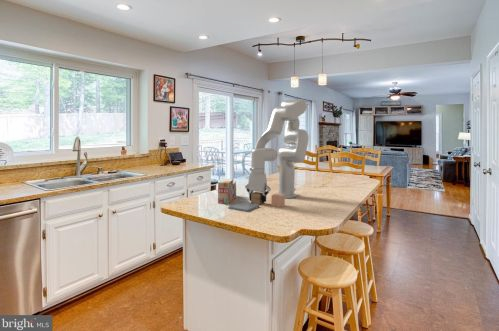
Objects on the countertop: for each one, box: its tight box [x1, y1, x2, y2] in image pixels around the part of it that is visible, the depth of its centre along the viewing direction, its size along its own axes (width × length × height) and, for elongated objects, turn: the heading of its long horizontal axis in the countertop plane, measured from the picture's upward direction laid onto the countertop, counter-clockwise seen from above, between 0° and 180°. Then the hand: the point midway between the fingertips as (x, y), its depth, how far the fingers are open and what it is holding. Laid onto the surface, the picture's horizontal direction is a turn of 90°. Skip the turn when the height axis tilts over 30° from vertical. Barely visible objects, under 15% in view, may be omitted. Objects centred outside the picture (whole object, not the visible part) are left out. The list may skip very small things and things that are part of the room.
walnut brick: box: [250, 191, 264, 206], centre depth 178 cm, size 6×6×6 cm
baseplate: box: [228, 201, 260, 213], centre depth 167 cm, size 12×12×1 cm
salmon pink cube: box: [270, 193, 286, 208], centre depth 173 cm, size 6×6×6 cm
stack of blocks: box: [217, 178, 237, 204], centre depth 187 cm, size 21×6×12 cm, turn 171°
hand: (257, 201), depth 178 cm, fingers open, 7 cm apart
